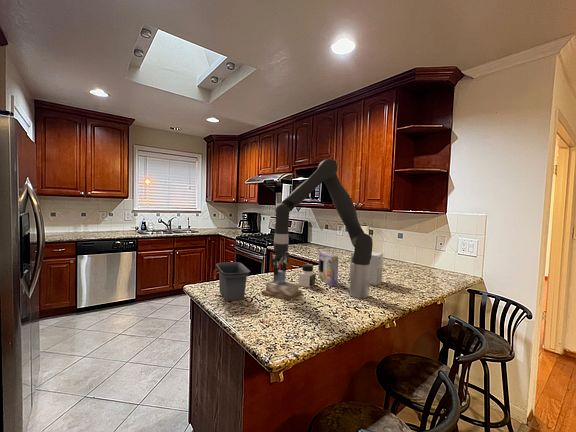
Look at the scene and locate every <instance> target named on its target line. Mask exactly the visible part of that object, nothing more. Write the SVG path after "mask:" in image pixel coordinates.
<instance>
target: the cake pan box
mask: <svg viewBox="0 0 576 432" xmlns="http://www.w3.org/2000/svg"><path fill="white" fill-rule="evenodd" d="M317 266H318V279H319V280H320V281H323V282H324V283H325V284H327V285H329V286H330V287H338V283H339V282H338V281H339V279H338V278H339V255H336V254H334V253H332V252H328V251H326V250H321V251H318V264H317Z"/></svg>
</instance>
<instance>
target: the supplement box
mask: <svg viewBox="0 0 576 432" xmlns="http://www.w3.org/2000/svg"><path fill="white" fill-rule="evenodd" d="M353 256H354V251H351V252H350V263H349V264H350V265H349V281H350V280H351V265H352V257H353ZM383 262H384V253H383V252H375V251H372V256H371V260H370V266H369V278H370V281H369V285H372V286H377V285H379V284H380V283H382V281H383V266H384V265H383Z"/></svg>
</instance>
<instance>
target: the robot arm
mask: <svg viewBox="0 0 576 432" xmlns="http://www.w3.org/2000/svg"><path fill="white" fill-rule="evenodd" d="M337 171H338V164H337V162H336V161H335V160H333V159H331V158H326V159H324V160H322V161H320V163H319V164H318V166H317V169H316V170H315V171H314V172H313V173H312V174H311V175H310V176H309V177H308V178H307V179H305V180H304V181H303V182H302V183H301V184H300V185H298V186H297V187H296V188H295V189H294V190H293V191H292V192H291V193H289V195H287V197H286V198H284V199H283V200H282V201H281V202H279V204H278V205H276V207H275V224H274V234H273V235H274V236H273V237H274V238H273V251H274V252H275V254H272V255H271V262H270V263H271V265H270V266H271V268H273V276H274V275H278V270H279V266H280V265H281V270H282V271H286V272H287V265H288V264H289V263H290V252H289V242H290V241H289V239H290V238H289V221H290V212H291V211H293V210H294V209H295V207H297V206H298V205H299V206H300V204H301V203H303V201H304V200H305V199H307V198H308V196H309V195H311V193H312V192H313V191H315V189H316V188H318V187H319V186H320V185H321V184H322V183H324V185H325V186H326V189H327V190H328V193H329V197H330V198H331V200H332V203H333V206H334V207H335V210H336V212H337V213H338V216H339V217H340V220H341V221H342V223H343V225H344V227H345V228H346V230H347V234H348V236H349V238H350V242H351V245H352V247H354V251H353V252H354V256H353V257H352V265H351V280H349V281H350V282H349V285H350V286H349V296H350V297H353V298H357V299H367V298H368V297H369V296H370V295H369V294H370V293H369V292H370V284H369V281H370V278H369V266H370V260H371V256H372V252H373V245H374V244H373V238H372V236H371V235H370V234H367V233H365V231H364V230H363V228H362V226H361V224H360V222H359V220H358V213H357V209H356V207H355V203H354V202H353V200H352V197H351V196H350V194H349V193H348V192H347V190H346V189H345V188H344V186H343V185H342V183H341V181H340V179H339V178H338V177H339V176H338V175H337Z"/></svg>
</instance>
